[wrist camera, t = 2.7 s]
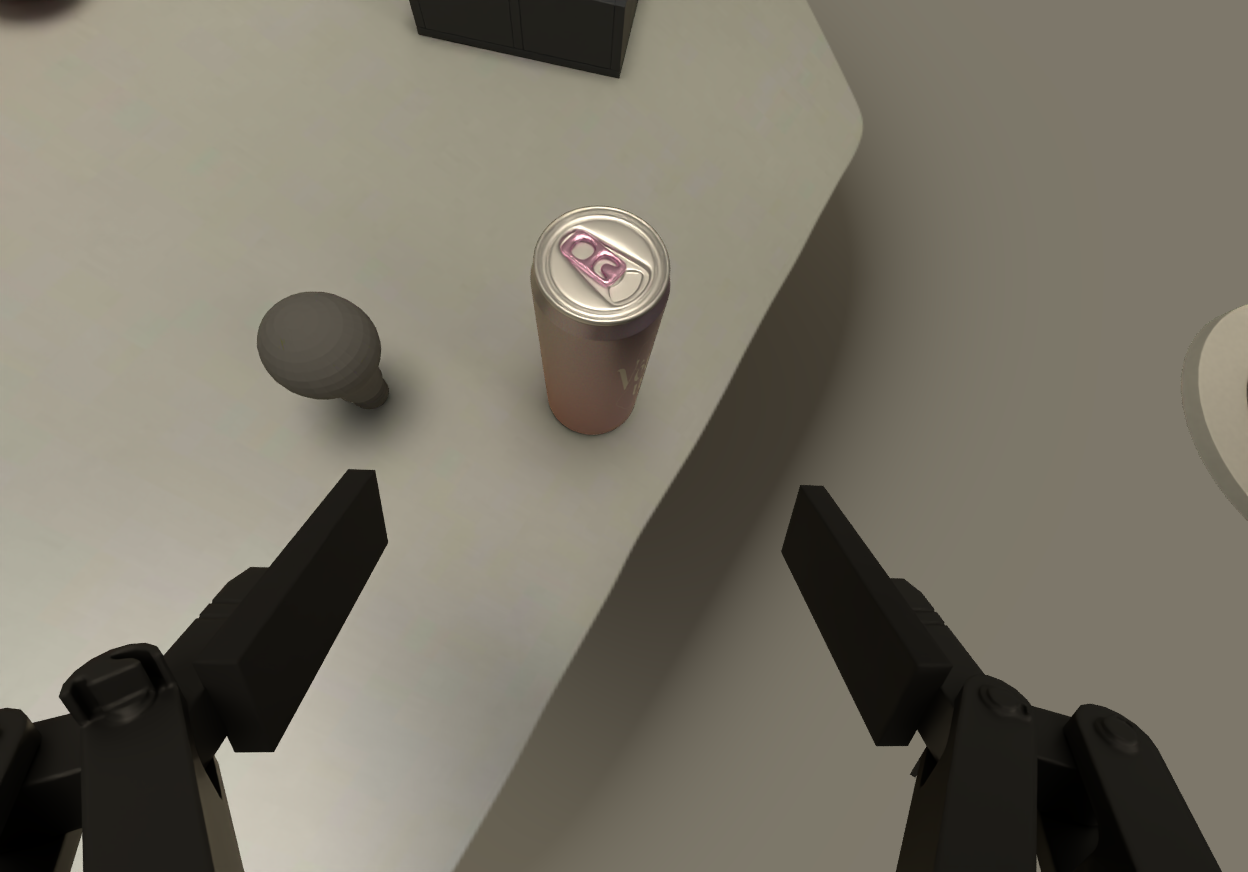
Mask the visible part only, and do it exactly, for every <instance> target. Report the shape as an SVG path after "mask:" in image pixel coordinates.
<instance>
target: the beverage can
mask: <svg viewBox="0 0 1248 872" xmlns="http://www.w3.org/2000/svg"><path fill="white" fill-rule="evenodd" d="M530 280H531V289H532V296H533V302H534V309H535V316H536V322H537V329H538V336H539V342H540V349H541V356H542V363H543V369H544V376H545V383H546V389H547V396H548V402H549V405H550V408H551V410H552V412H553V414H554V415H555V417H556V418H557V419H558V420H559V421H560V422H561V423H562V424H563V425H565V426H566V427H567V428H569V429H571V430H573V431H575V432H578V433H582V434H588V435H596V434H603V433H607V432H609V431H612V430H614V429H616V428H617V427H619V426H620V425H621V424H623V423H624V422H625V421H626V419H627V418H628V417H629V415H630V414H631V412H632V410H633V408H634V405H635V402H636V398H637V395H638V392H639V389H640V386H641V383H642V379H643V376H644V373H645V370H646V367H647V364H648V360H649V357H650V354H651V351H652V348H653V345H654V341H655V338H656V335H657V332H658V329H659V326H660V322H661V319H662V316H663V313H664V310H665V307H666V303H667V300H668V297H669V292H670V260H669V255H668V252H667V249H666V247H665V245H664V243H663V241H662V239H661V238H660V236H659V235H658V233H657V232H656V231H655V230H654V229H653V228H652V227H651V226H650V225H649V224H648V223H647V222H645V221H644V220H643V219H641V218H640V217H638V216H636V215H634V214H632V213H630V212H628V211H625V210H622V209H619V208H614V207H609V206H588V207H582V208H578V209H575V210H572V211H569V212H567V213H565V214H563V215H561V216H560V217H558V218H557V219H555V220H554V221H553V222H552V223H551V224H550V225H548V227H547V228H546V229H545V230H544V231H543V233H542V234H541V236H540V237H539V239H538V241H537V244H536V247H535V250H534V256H533V263H532V268H531V275H530Z"/></svg>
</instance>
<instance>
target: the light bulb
mask: <svg viewBox="0 0 1248 872" xmlns="http://www.w3.org/2000/svg"><path fill="white" fill-rule="evenodd" d="M257 348H258V352H259V356H260V358H261V361H262V363H263V365H264V367H265V368H266V370H267V371H268V373H269V374H270V375H271V376H272V377H273V378H274V380H275V381H276V382H278V383H279V384H280V385H282V386H283V387H285V388H286V389H288V390H289V391H291V392H293V393H296V394H298V395H301V396H304V397H308V398H313V399H327V400H328V399H335V398H342V399H343V400H345V401H348V402H353V403H354V404H356V405H357V406H359V407H361V408H364V409H373V408H376V407H379V406H380V405H382V404H383V403H384V402H385V401H386V399H387V397H388V394H389V388H388V385H387V384H386V382H385V380H384V379H383V377H382V373H381V370H380V369H379V367H378V365H379V362H380V356H381V343H380V339H379V336H378V333H377V330H376V327H375V326H374V324H373V323H372V321H371V320H370V318H369V317H368V316H367V315H366V314H365V313H364V312H363V311H362V310H361V309H360V308H359V307H357V306H356V305H355V304H353V303H351V302H350V301H348V300H346V299H344V298H341V297H339V296H337V295H334V294H330V293H325V292H303V293H298V294H294V295H291V296H289V297H287V298H285V299H282V300H281V301H279V302H278V303H276V304H275V305H274V306H273V307H272V308H271V309H270V310H269V311H268V312H267V313H266V315H265V316H264V317H263V319H262V321H261V324H260V326H259V330H258V336H257Z"/></svg>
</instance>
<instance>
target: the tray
mask: <svg viewBox="0 0 1248 872" xmlns="http://www.w3.org/2000/svg"><path fill="white" fill-rule="evenodd" d="M409 1H410V5H411V9H412V12H413V16H414V19H415V23H416V26H417V30H418V33H419V34H421V35H426V36H430V37H435V38H440V39H444V40H449V41H453V42H458V43H462V44H467V45H471V46H476V47H480V48H485V49H489V50H494V51H498V52H503V53H507V54H512V55H517V56H521V57H526V58H530V59H535V60H539V61H544V62H548V63H553V64H557V65H562V66H566V67H571V68H575V69H580V70H585V71H589V72H594V73H598V74H603V75H607V76H612V77H616V78H619V77H620V73H621V69H622V65H623V61H624V56H625V52H626V48H627V44H628V40H629V36H630V32H631V28H632V23H633V19H634V15H635V11H636V7H637V3H638V0H409Z"/></svg>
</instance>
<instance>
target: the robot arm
mask: <svg viewBox="0 0 1248 872" xmlns="http://www.w3.org/2000/svg"><path fill="white" fill-rule="evenodd" d="M1247 400H1248V385H1247ZM387 544H388V539H387V533H386V528H385V522H384V517H383V511H382V505H381V500H380V494H379V489H378V483H377V478H376V472H375V470H356V469H348V470H347V472H346V473H345V474H344V475H343V477H342V478H341V479H340V480H339V481H338V483H337V484H336V485H335V486H334V488H333V489H332V490H331V491H330V493H329V494H328V495H327V496H326V498H325V499H324V500H323V501H322V502H321V504H320V505H319V506H318V507H317V509H316V510H315V511H314V512H313V514H312V515H311V516H310V517H309V519H308V520H307V521H306V522H305V523H304V525H303V526H302V527H301V528H300V530H299V531H298V532H297V533H296V535H295V536H294V537H293V538H292V540H291V541H290V542H289V543H288V544H287V546H286V547H285V548H284V549H283V551H282V552H281V553H280V554H279V556H278V557H277V558H276V559H275V561H274V562H273V563H272V564H271V566H270V567H250V568H248V569H247V570H245V571H244V572H242V573H241V574H240V575H238V576H237V577H235V578H234V579H232V580H231V581H229V582H228V583H227V584H226V585H225V586H224V587H223V589H222V590H221V591H220V592H219V593H218V594H217V595H216V597H215V598H214V599H213V600H212V604H208V606H207V607H206V608H205V609H204V610H203V611H202V612H201V614H200V617H199V618H196V619H195V620H194V622H193V623H192V624H191V625H190V626H189V627H188V628H187V630H186V631H185V632H184V633H183V634H182V635H181V636H180V637H179V639H178V640H177V641H176V642H175V643H174V644H173V645H172V647H171V648H170V649H169V650H168V651H167V652H166V653H165V655H164V656H163V655H162V653H161V651H160V650H159V649H158V647H157V646H154V645H151V644H148V643H138V644H128V645H125V646H121V647H118V648H115V649H111V650H109V651H107V652H105V653H103V654H101V655H99V656H97V657H95V658H93V659H91V660H90V661H88V662H87V663H86V664H84V665H83V666H81V667H80V668H79V669H77V670H76V671H75V672H74V673H73V674H72V675H71V676H70V677H69V678H68V679H67V681H66V682H65V683H64V684H63V686H62V689H61V692H60V695H59V698H60V699H61V701H62V702H63V704H64V705H65V706H66V708H67V709H68V711H69V712H70V714H67V715H63V716H59V717H55V718H51V719H47V720H43V721H38V722H34V723H32V722H31V721H30V719H29V718H28V717H27V716H26V715H25V714H24V713H23V711H22V710H20V709H12V708H4V709H0V872H70V871H71V868H72V864H73V861H74V858H75V855H76V851H77V848H78V845H79V841H80V838H81V835H82V839H83V872H244V869H243V865H242V860H241V856H240V852H239V848H238V844H237V839H236V835H235V831H234V827H233V823H232V818H231V814H230V810H229V806H228V802H227V797H226V793H225V789H224V785H223V781H222V776H221V772H220V768H219V764H218V762H217V760H216V758H215V756H214V755H215V753H216V752H217V750H218V749H219V747H220V745H221V744H222V742H223V741H224V739H225V738H226V736H227V737H228V739H229V741H230V743H231V745H232V747H233V749H234V752H274V751H275V749H276V747H277V746H278V744H279V742H280V740H281V738H282V736H283V735H284V733H285V731H286V729H287V727H288V725H289V724H290V722H291V720H292V718H293V716H294V714H295V713H296V711H297V709H298V707H299V705H300V703H301V702H302V700H303V698H304V696H305V694H306V692H307V691H308V689H309V687H310V685H311V683H312V681H313V680H314V678H315V676H316V674H317V672H318V670H319V669H320V667H321V665H322V663H323V661H324V659H325V658H326V656H327V654H328V652H329V650H330V648H331V647H332V645H333V643H334V641H335V639H336V637H337V636H338V634H339V632H340V630H341V628H342V626H343V625H344V623H345V621H346V619H347V617H348V615H349V614H350V612H351V610H352V608H353V606H354V604H355V603H356V601H357V599H358V597H359V595H360V593H361V591H362V590H363V588H364V586H365V584H366V582H367V580H368V579H369V577H370V575H371V573H372V571H373V569H374V568H375V566H376V564H377V562H378V560H379V558H380V557H381V555H382V553H383V551H384V549H385V547H386V546H387ZM781 552H782V554H783V557H784V558H785V561H786V563H787V565H788V567H789V569H790V571H791V573H792V575H793V577H794V579H795V581H796V583H797V585H798V587H799V589H800V591H801V593H802V595H803V597H804V600H805V602H806V604H807V606H808V608H809V609H810V612H811V614H812V616H813V618H814V620H815V622H816V624H817V626H818V628H819V630H820V632H821V634H822V636H823V638H824V640H825V642H826V644H827V646H828V649H829V651H830V653H831V654H832V657H833V659H834V661H835V663H836V665H837V667H838V669H839V671H840V673H841V675H842V677H843V679H844V681H845V683H846V685H847V687H848V689H849V692H850V694H851V695H852V698H853V700H854V701H855V704H856V706H857V708H858V710H859V712H860V714H861V716H862V718H863V720H864V722H865V724H866V726H867V728H868V730H869V733H870V735H871V736H872V739H873V741H874V743H875V745H876V746H908V745H909V743H910V741H911V739H912V738H913V736H914V734H915V732H916V730H918V732H919V733H920V735H921V737H922V739H923V740H924V742H925V744H926V746H927V747H926V748H925V750H924V752H923V754H922V755H921V757H920V758H919V760H918V762H917V763H916V765H915V767H914V768H913V770H912V772H911V774H910V775H912V776H914V777H916V776H917V778H916V783H915V787H914V792H913V796H912V801H911V806H910V810H909V815H908V819H907V824H906V828H905V833H904V837H903V842H902V846H901V851H900V856H899V860H898V865H897V870H896V872H1036V854H1037V857H1038V861H1039V865H1040V868H1041V872H1222V871H1221V869H1220V867H1219V865H1218V864H1217V862H1216V860H1215V858H1214V856H1213V854H1212V852H1211V850H1210V848H1209V846H1208V844H1207V842H1206V840H1205V839H1204V837H1203V835H1202V833H1201V831H1200V829H1199V827H1198V825H1197V823H1196V821H1195V819H1194V818H1193V816H1192V814H1191V812H1190V810H1189V808H1188V806H1187V804H1186V802H1185V800H1184V798H1183V797H1182V794H1181V793H1180V791H1179V789H1178V787H1177V785H1176V783H1175V781H1174V779H1173V777H1172V775H1171V773H1170V771H1169V770H1168V768H1167V766H1166V764H1165V762H1164V760H1163V758H1162V756H1161V754H1160V753H1159V751H1158V749H1157V747H1156V746H1155V745H1154V743H1153V742H1152V740H1151V739H1150V738H1149V736H1148V735H1147V734H1145V733H1144V732H1143V731H1142V730H1141V729H1140V728H1139V727H1138V726H1137V725H1136V724H1134V723H1133V722H1131V721H1130V720H1128V719H1127V718H1125V717H1124V716H1122V715H1121V714H1119V713H1117V712H1115V711H1112V710H1110V709H1108V708H1106V707H1103V706H1098V705H1094V704H1086V705H1081V706H1080V707H1079V708H1078V709H1077V710H1076V712H1075V713H1074V714H1073V715H1072V717H1069V716H1066V715H1062V714H1059V713H1055V712H1052V711H1048V710H1045V709H1041V708H1037V707H1034V706H1031V705H1030V703H1029V702H1028V701H1027V699H1026V698H1025V697H1024V696H1023V695H1021V694H1020V693H1019V692H1018V691H1017V690H1016V689H1015V688H1013V687H1011V686H1010V685H1008V684H1007V683H1005V682H1003V681H1002V680H999V679H997V678H994V677H991V676H988V675H985V674H984V673H983V672H982V670H981V669H980V668H979V667H978V665H977V664H976V663H975V661H974V660H973V659H972V658H971V656H970V655H969V653H968V652H967V651H966V650H965V648H964V647H963V646H962V644H961V643H960V642H959V641H958V639H957V638H956V637H955V635H954V634H953V633H952V631H951V630H950V629H949V628H948V626H945V625H944V621H943V620H942V619H941V617H940V616H939V615H938V613H937V612H934V608H933V607H932V606H931V604H930V603H929V602H928V600H927V599H926V598H925V596H923V594H922V593H921V592H920V591H919V590H917V589H916V588H915V587H913V586H912V585H911V584H910V583H909V582H907V581H906V580H905V579H898V578H897V579H895V578H889V576H888V575H887V574H886V572H885V571H884V569H883V568H882V567H881V565H880V564H879V562H878V561H877V560H876V558H875V557H874V556H873V554H872V553H871V551H870V550H869V549H868V547H867V546H866V544H865V543H864V542H863V540H862V539H861V538H860V536H859V535H858V534H857V532H856V531H855V529H854V528H853V526H852V525H851V524H850V522H849V521H848V520H847V518H846V517H845V515H844V514H843V513H842V511H841V510H840V508H839V507H838V506H837V504H836V503H835V502H834V500H833V499H832V497H831V496H830V494H829V493H828V492H827V490H826V489H825V488H824V487H823V486H811V485H800V488H799V492H798V495H797V499H796V502H795V505H794V509H793V512H792V516H791V519H790V523H789V526H788V530H787V533H786V537H785V540H784V544H783V548H782V551H781Z"/></svg>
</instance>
